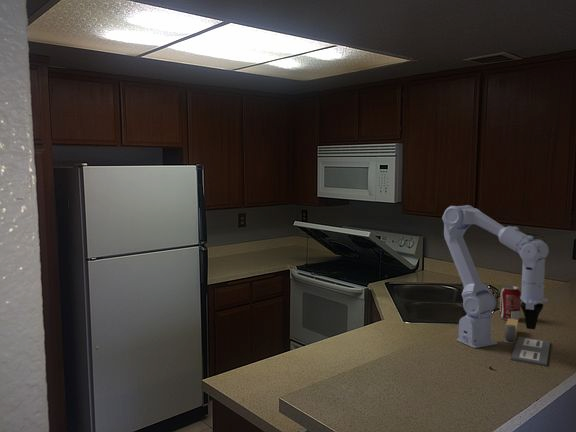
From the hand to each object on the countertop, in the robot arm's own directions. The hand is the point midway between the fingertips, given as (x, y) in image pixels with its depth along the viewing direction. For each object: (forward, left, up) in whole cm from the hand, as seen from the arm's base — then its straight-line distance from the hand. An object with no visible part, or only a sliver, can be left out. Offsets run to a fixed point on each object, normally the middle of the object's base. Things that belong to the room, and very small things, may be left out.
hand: (530, 328), depth 138 cm
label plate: (+4, +4, -8) cm, 10 cm away
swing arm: (+10, +15, -8) cm, 20 cm away
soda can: (+26, +30, -9) cm, 41 cm away
